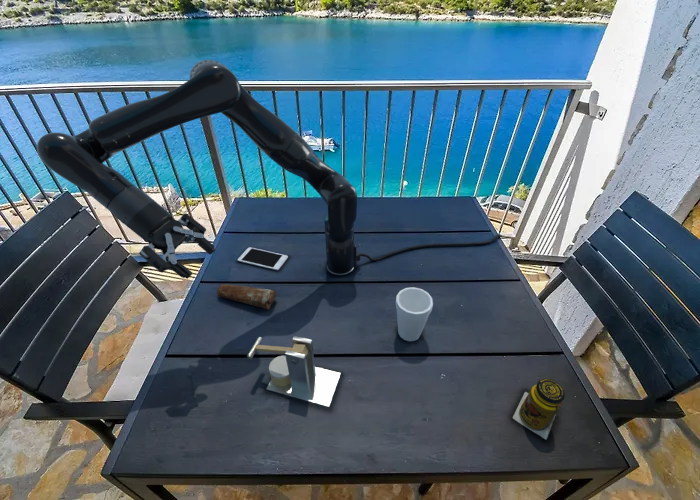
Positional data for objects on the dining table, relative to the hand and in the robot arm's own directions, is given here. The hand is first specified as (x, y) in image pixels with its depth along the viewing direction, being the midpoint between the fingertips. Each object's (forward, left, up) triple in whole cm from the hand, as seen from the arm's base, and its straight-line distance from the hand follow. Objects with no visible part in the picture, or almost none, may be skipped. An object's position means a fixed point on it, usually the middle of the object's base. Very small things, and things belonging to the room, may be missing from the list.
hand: (202, 263), depth 78 cm
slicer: (-13, +21, -29) cm, 38 cm away
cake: (-9, +17, -28) cm, 34 cm away
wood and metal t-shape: (-9, +17, -18) cm, 27 cm away
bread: (-8, -13, -29) cm, 33 cm away
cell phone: (-19, -30, -29) cm, 46 cm away
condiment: (-56, +54, -29) cm, 83 cm away
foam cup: (-45, +21, -29) cm, 57 cm away
